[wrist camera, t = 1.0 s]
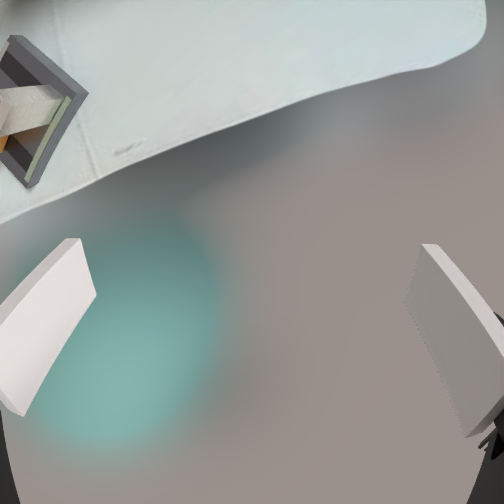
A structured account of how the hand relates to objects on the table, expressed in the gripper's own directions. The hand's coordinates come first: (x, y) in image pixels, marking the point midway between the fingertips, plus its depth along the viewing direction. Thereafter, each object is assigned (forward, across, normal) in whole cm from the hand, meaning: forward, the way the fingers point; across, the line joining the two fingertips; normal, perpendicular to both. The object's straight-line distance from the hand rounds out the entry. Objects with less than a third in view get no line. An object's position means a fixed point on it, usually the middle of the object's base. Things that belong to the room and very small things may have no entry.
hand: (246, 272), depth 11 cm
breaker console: (+27, -34, +9) cm, 44 cm away
